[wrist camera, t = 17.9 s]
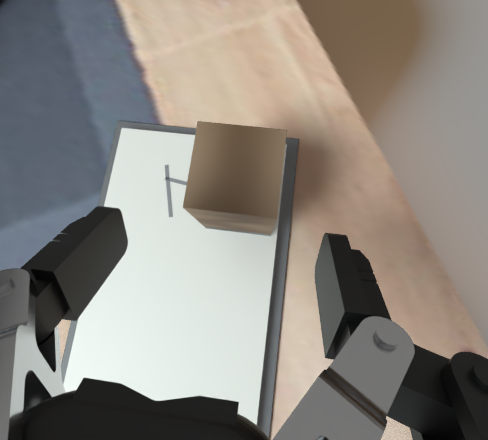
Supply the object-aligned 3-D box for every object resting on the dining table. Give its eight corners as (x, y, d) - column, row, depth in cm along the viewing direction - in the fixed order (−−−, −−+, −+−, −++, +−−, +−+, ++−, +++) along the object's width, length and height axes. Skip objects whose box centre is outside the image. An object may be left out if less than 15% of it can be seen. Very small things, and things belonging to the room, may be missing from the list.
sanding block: (205, 228, 21) (182, 207, 15) (215, 167, 22) (197, 121, 15) (269, 236, 21) (277, 218, 14) (277, 174, 22) (286, 130, 15)
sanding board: (50, 419, 20) (39, 427, 19) (118, 122, 25) (112, 115, 24) (266, 456, 19) (267, 467, 18) (298, 140, 24) (300, 134, 23)
